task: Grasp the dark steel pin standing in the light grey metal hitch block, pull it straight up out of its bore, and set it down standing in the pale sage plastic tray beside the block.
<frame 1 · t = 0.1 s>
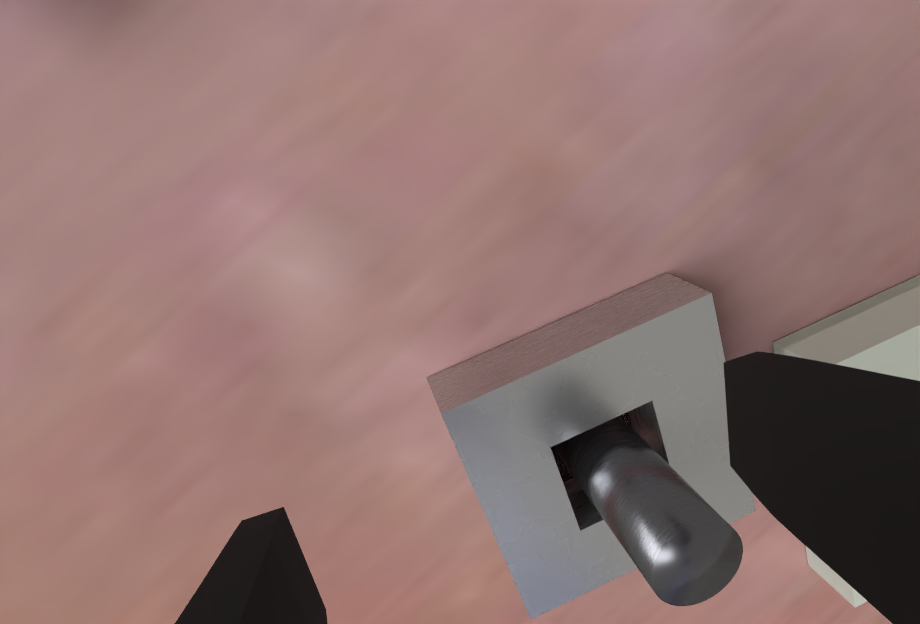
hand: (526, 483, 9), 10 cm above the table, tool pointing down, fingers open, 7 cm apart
tray: (913, 405, 25), on the table
pin: (583, 429, 21), resting in hitch block
hitch block: (583, 429, 21), on the table
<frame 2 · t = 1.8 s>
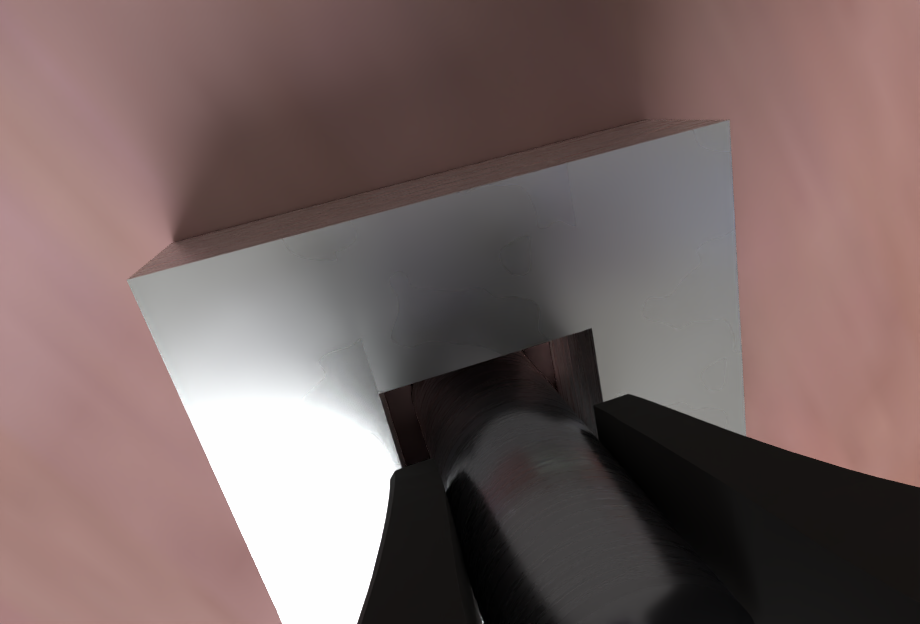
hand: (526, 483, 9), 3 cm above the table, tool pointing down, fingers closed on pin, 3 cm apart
pin: (473, 389, 12), resting in hitch block, touching gripper
hitch block: (473, 389, 12), on the table
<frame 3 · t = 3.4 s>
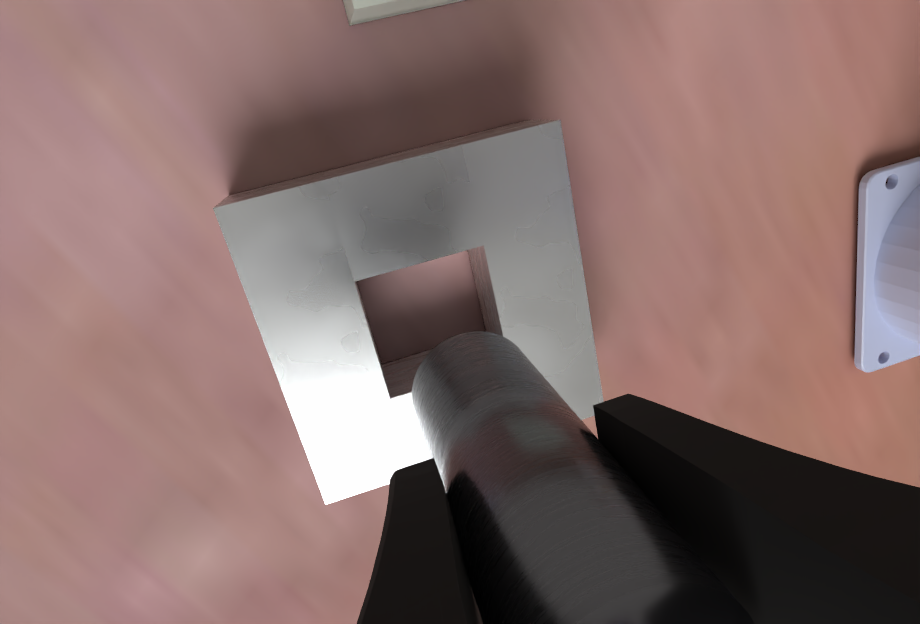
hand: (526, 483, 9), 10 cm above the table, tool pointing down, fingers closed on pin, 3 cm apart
pin: (473, 389, 12), point 7 cm above the table, touching gripper
hitch block: (421, 298, 18), on the table
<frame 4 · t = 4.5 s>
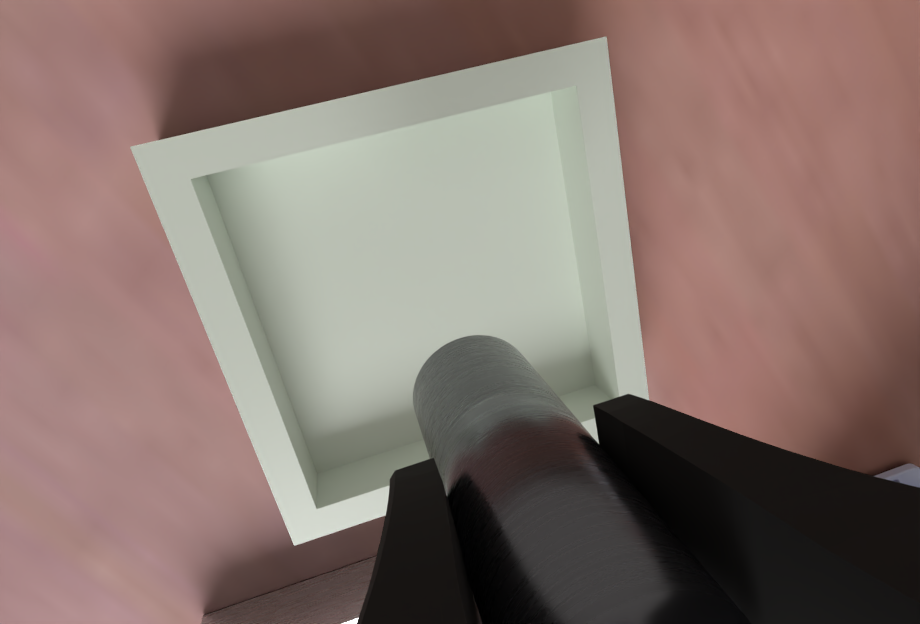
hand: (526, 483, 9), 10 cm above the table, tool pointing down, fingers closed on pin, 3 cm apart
tray: (423, 287, 19), on the table
pin: (473, 392, 12), point 7 cm above the table, touching gripper
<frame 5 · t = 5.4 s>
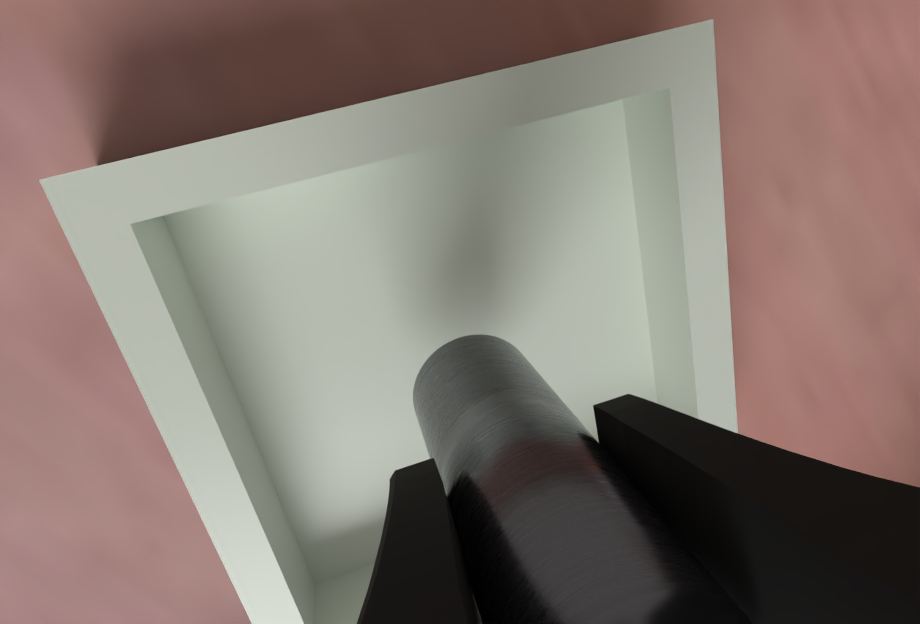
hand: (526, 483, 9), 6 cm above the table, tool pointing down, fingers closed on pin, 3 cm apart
tray: (451, 348, 14), on the table
pin: (473, 392, 12), point 2 cm above the table, touching gripper
when the fingers open (5 cm above the table, at t = 5.8 s): pin drops 1 cm, resting on tray.
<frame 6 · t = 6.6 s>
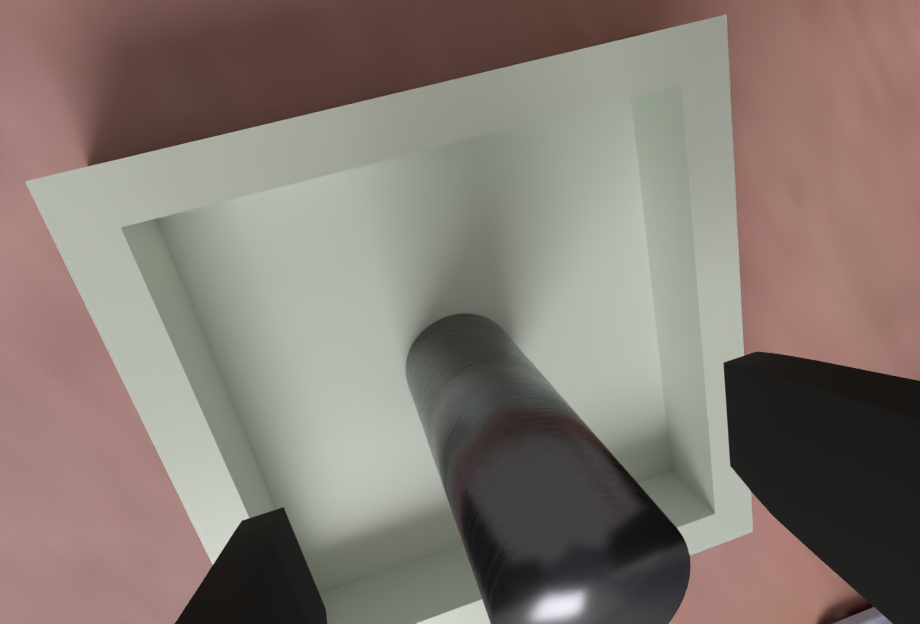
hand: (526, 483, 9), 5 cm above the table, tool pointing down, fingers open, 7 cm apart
tray: (453, 354, 14), on the table
pin: (461, 366, 14), point 1 cm above the table, touching tray
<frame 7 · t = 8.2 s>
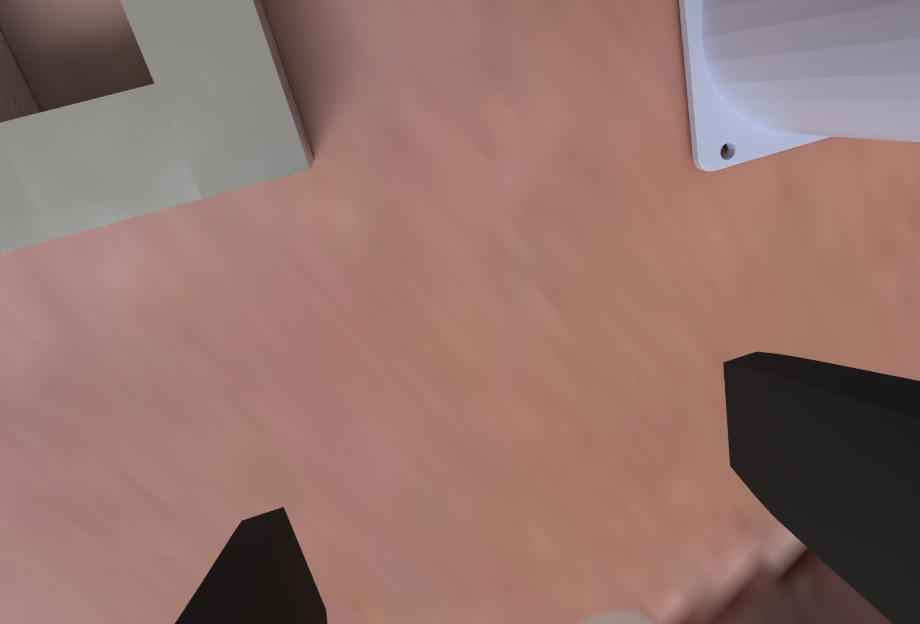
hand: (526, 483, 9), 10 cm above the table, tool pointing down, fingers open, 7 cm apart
hitch block: (82, 30, 15), on the table
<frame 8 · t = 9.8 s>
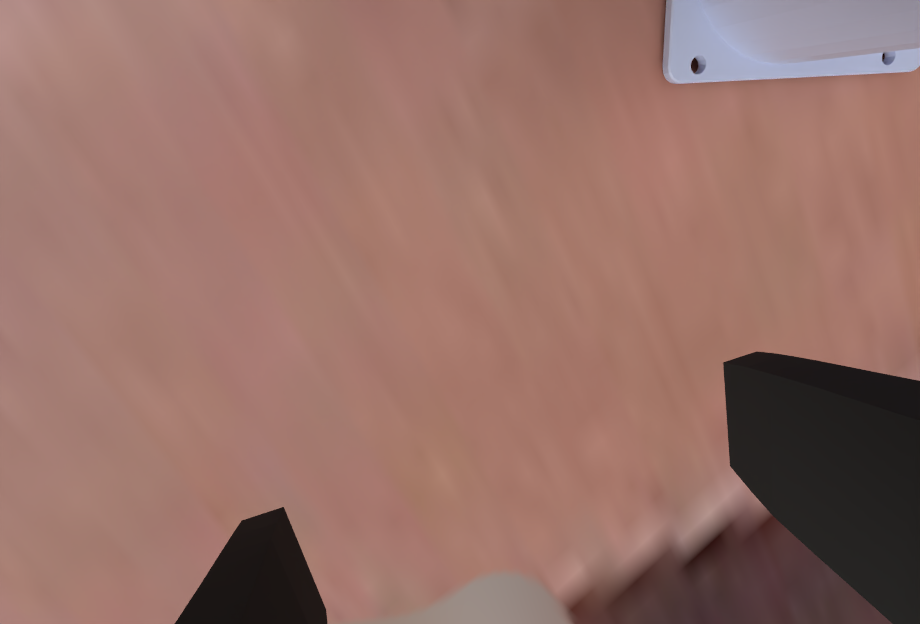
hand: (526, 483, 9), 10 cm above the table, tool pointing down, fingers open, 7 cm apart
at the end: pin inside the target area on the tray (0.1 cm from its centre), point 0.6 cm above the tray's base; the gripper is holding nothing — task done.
